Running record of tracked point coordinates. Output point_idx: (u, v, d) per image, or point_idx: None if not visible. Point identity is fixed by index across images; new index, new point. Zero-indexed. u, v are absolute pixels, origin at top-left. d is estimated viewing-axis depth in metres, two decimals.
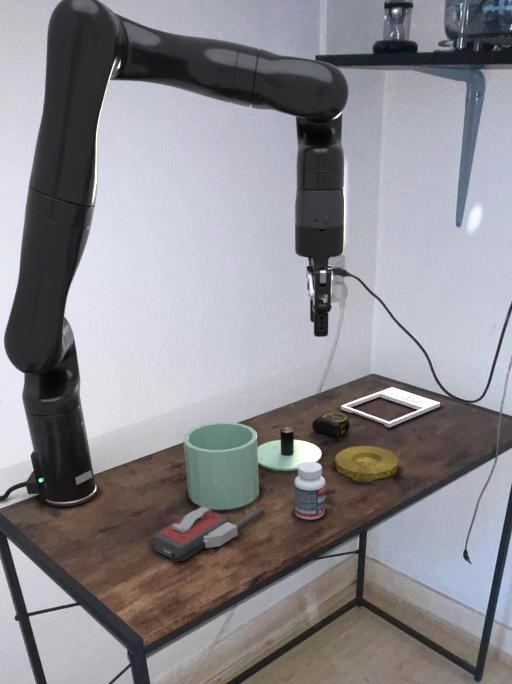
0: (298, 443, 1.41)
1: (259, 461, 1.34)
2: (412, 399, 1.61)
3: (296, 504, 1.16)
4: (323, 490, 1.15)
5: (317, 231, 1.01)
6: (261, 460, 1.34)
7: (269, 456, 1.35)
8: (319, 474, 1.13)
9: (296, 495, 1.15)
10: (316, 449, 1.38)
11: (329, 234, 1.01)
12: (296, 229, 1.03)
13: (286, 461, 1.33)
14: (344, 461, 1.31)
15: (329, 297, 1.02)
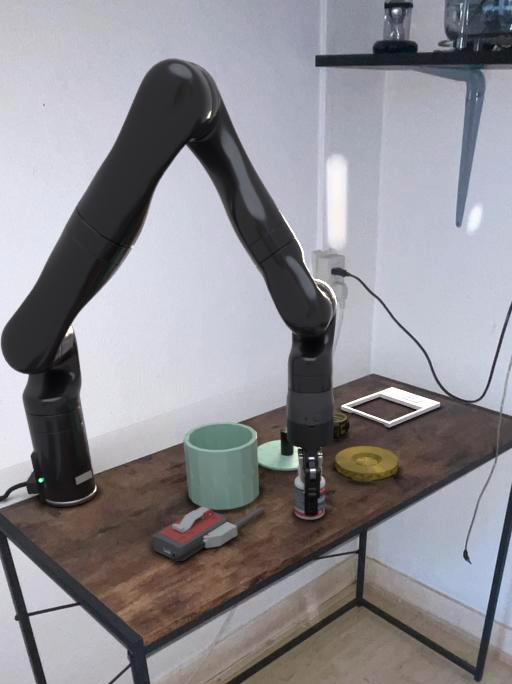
0: None
1: (259, 461, 1.34)
2: (412, 399, 1.61)
3: (296, 504, 1.16)
4: (323, 490, 1.15)
5: (307, 427, 1.06)
6: (261, 460, 1.34)
7: (269, 456, 1.35)
8: None
9: (296, 495, 1.15)
10: None
11: (318, 429, 1.07)
12: (287, 421, 1.09)
13: (286, 461, 1.33)
14: (344, 461, 1.31)
15: (318, 489, 1.09)
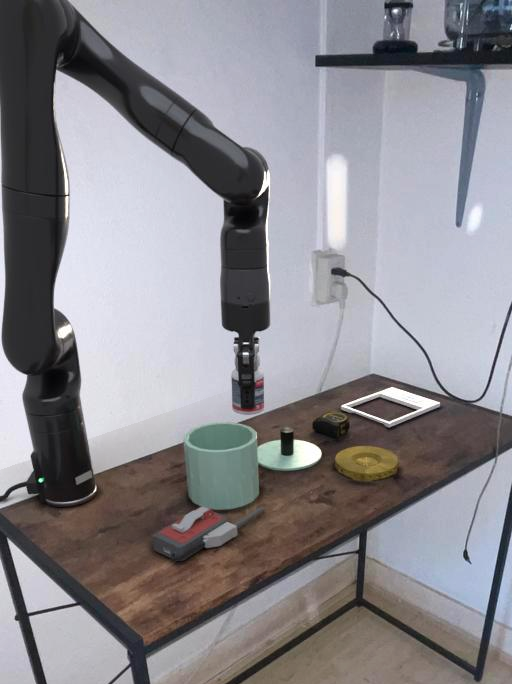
0: (298, 443, 1.41)
1: (259, 461, 1.34)
2: (412, 399, 1.61)
3: (233, 398, 1.11)
4: (261, 383, 1.10)
5: (240, 308, 1.01)
6: (261, 460, 1.34)
7: (269, 456, 1.35)
8: None
9: (233, 388, 1.10)
10: (316, 449, 1.38)
11: (252, 311, 1.02)
12: (221, 304, 1.04)
13: (286, 461, 1.33)
14: (344, 461, 1.31)
15: (252, 376, 1.04)
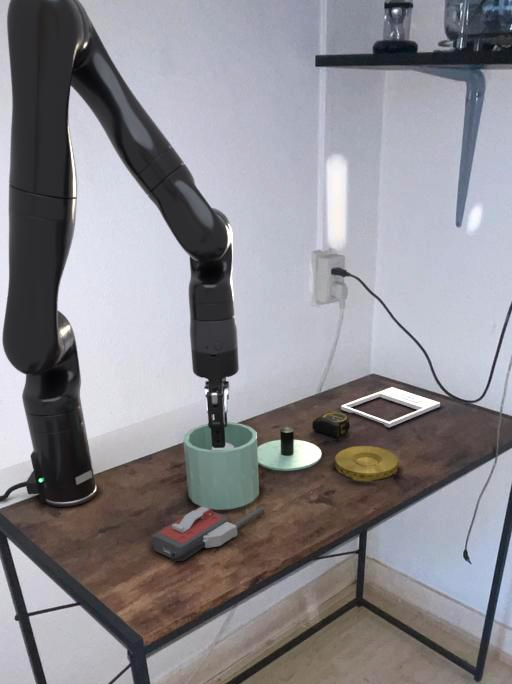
0: (298, 443, 1.41)
1: (259, 461, 1.34)
2: (412, 399, 1.61)
3: None
4: None
5: (209, 356, 1.08)
6: (261, 460, 1.34)
7: (269, 456, 1.35)
8: None
9: None
10: (316, 449, 1.38)
11: (220, 359, 1.08)
12: (191, 352, 1.10)
13: (286, 461, 1.33)
14: (344, 461, 1.31)
15: (221, 416, 1.09)
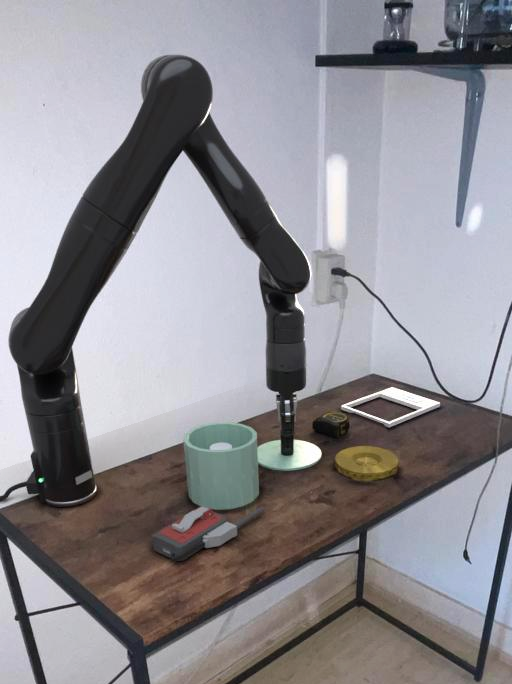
0: (298, 443, 1.41)
1: (259, 461, 1.34)
2: (412, 399, 1.61)
3: None
4: None
5: (283, 374, 1.25)
6: (261, 460, 1.34)
7: (269, 456, 1.35)
8: None
9: None
10: (316, 449, 1.38)
11: (292, 376, 1.25)
12: (266, 369, 1.27)
13: (286, 461, 1.33)
14: (344, 461, 1.31)
15: (293, 429, 1.29)
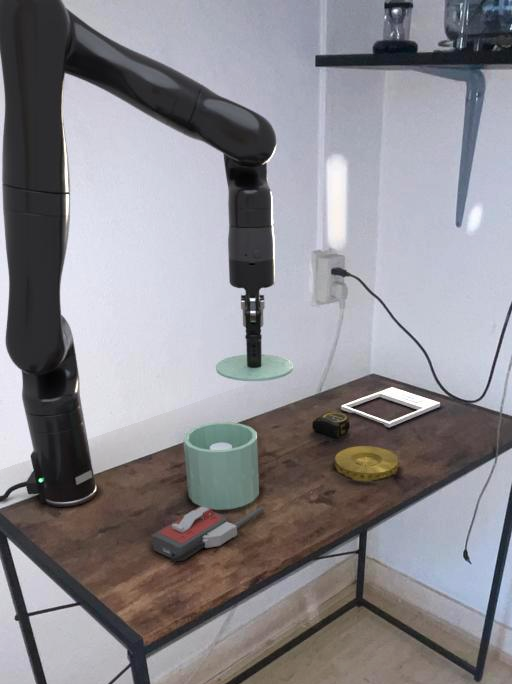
0: (268, 357, 1.25)
1: (222, 372, 1.18)
2: (412, 399, 1.61)
3: None
4: None
5: (247, 265, 1.09)
6: (224, 371, 1.18)
7: (233, 368, 1.20)
8: None
9: None
10: (287, 362, 1.22)
11: (258, 268, 1.09)
12: (229, 262, 1.11)
13: (252, 372, 1.18)
14: (344, 461, 1.31)
15: (259, 332, 1.13)
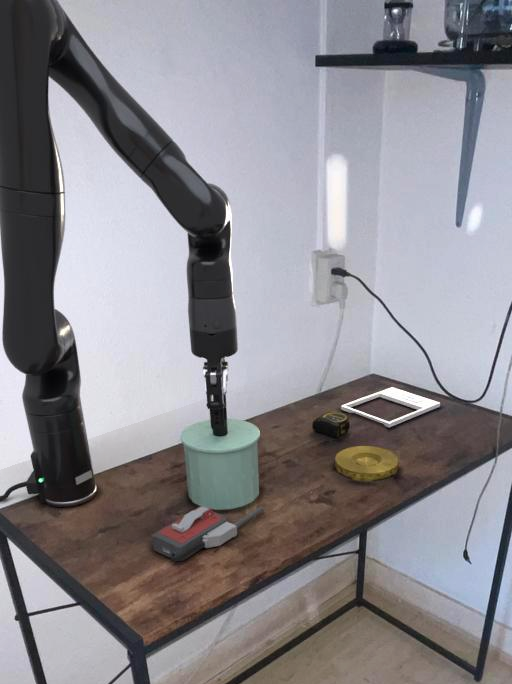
0: (235, 422, 1.23)
1: (186, 442, 1.15)
2: (412, 399, 1.61)
3: None
4: None
5: (207, 335, 1.06)
6: (188, 441, 1.16)
7: (199, 437, 1.17)
8: None
9: None
10: (254, 429, 1.20)
11: (219, 338, 1.07)
12: (190, 331, 1.08)
13: (217, 442, 1.15)
14: (344, 461, 1.31)
15: (220, 396, 1.08)
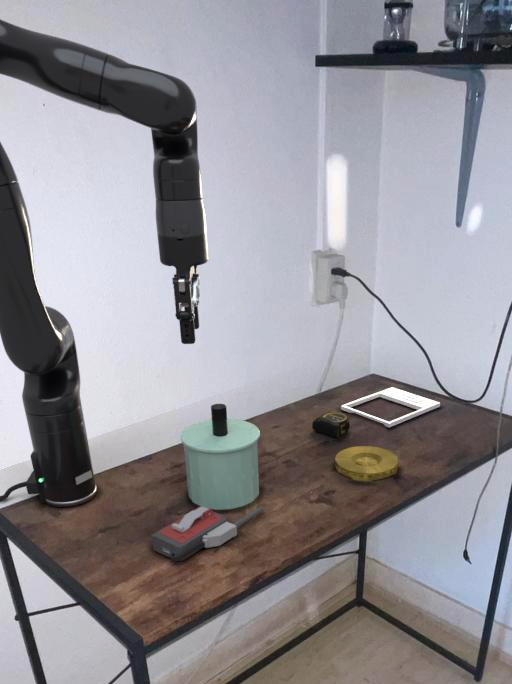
0: (235, 422, 1.23)
1: (186, 442, 1.15)
2: (412, 399, 1.61)
3: None
4: None
5: (175, 240, 1.02)
6: (188, 441, 1.16)
7: (199, 437, 1.17)
8: None
9: None
10: (254, 429, 1.20)
11: (188, 244, 1.03)
12: (158, 238, 1.04)
13: (217, 442, 1.15)
14: (344, 461, 1.31)
15: (189, 305, 1.04)
